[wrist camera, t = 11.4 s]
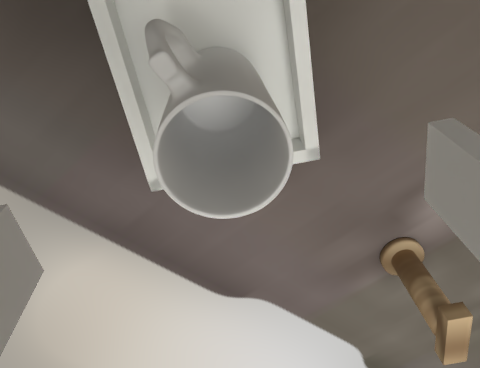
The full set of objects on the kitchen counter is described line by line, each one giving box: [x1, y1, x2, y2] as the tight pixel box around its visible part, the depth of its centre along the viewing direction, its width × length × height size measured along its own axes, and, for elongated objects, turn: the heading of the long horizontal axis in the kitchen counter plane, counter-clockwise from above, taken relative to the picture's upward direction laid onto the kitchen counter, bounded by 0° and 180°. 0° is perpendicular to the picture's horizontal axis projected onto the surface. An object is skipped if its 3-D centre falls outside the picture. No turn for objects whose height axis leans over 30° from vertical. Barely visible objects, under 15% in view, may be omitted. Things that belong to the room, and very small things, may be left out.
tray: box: [88, 0, 320, 192], centre depth 29 cm, size 15×13×3 cm
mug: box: [145, 19, 293, 219], centre depth 24 cm, size 10×7×12 cm, turn 32°
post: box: [380, 237, 473, 365], centre depth 35 cm, size 5×4×10 cm
